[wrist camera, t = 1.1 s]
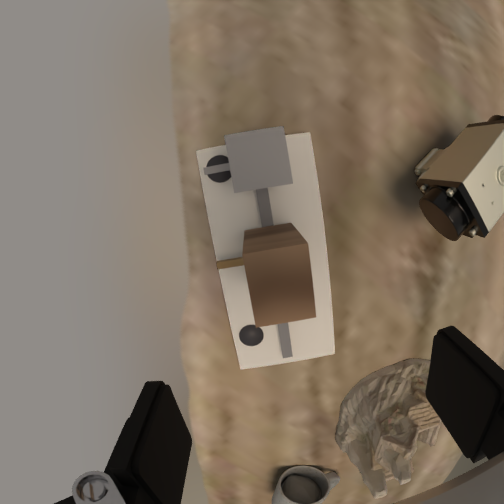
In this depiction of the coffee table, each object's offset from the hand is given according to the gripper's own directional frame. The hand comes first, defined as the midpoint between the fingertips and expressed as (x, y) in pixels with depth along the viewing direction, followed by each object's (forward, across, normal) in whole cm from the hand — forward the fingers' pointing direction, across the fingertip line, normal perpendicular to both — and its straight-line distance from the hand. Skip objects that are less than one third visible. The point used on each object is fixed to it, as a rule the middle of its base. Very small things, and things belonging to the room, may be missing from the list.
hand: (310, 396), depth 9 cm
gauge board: (+20, 0, +1) cm, 20 cm away
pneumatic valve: (+20, -18, -5) cm, 28 cm away
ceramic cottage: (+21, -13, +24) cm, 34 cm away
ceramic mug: (+21, 0, +37) cm, 42 cm away
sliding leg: (+18, +1, 0) cm, 18 cm away
